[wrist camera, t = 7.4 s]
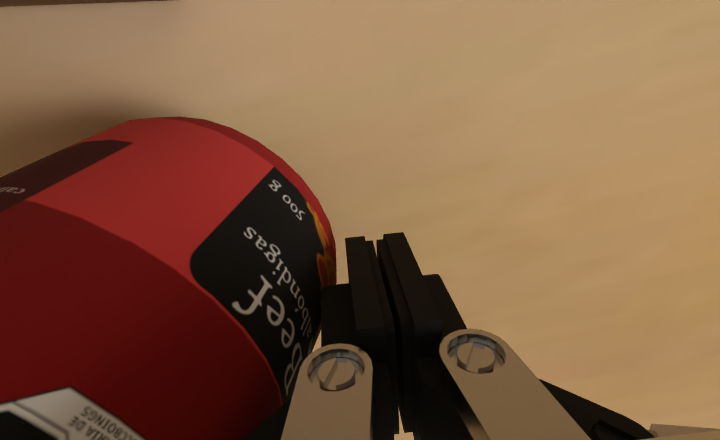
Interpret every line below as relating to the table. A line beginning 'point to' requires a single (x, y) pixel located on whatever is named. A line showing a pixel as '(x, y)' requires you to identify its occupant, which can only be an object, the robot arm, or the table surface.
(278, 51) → the table surface
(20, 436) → the canned food
